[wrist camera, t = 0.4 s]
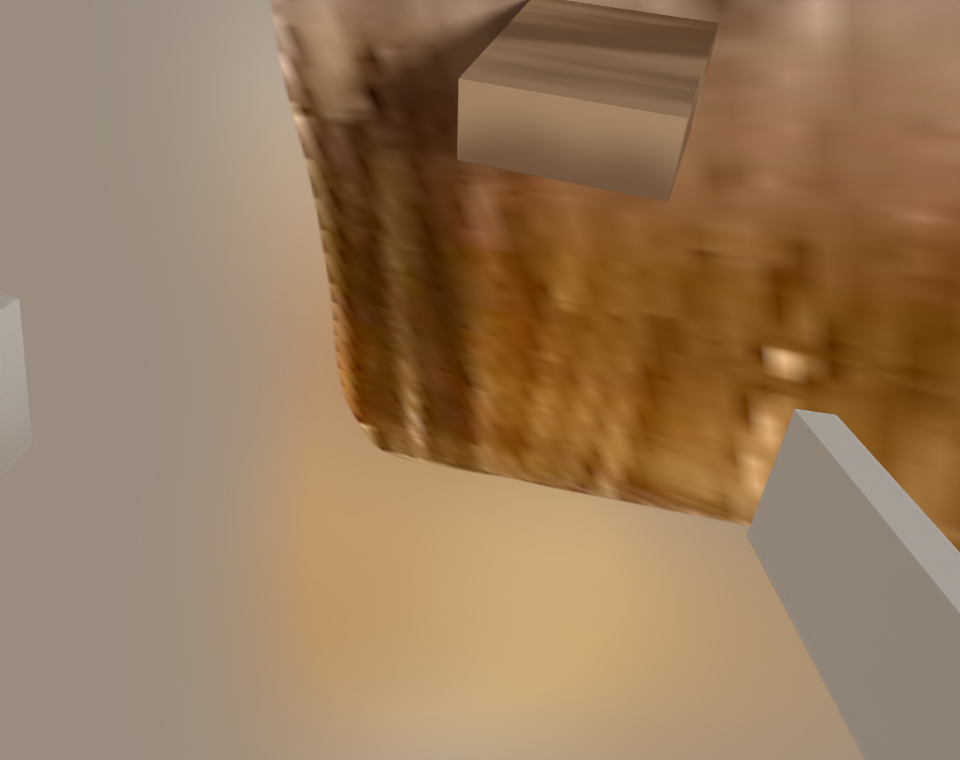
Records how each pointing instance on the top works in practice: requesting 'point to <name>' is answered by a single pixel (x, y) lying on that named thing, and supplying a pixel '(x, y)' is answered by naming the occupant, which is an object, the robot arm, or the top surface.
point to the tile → (586, 96)
